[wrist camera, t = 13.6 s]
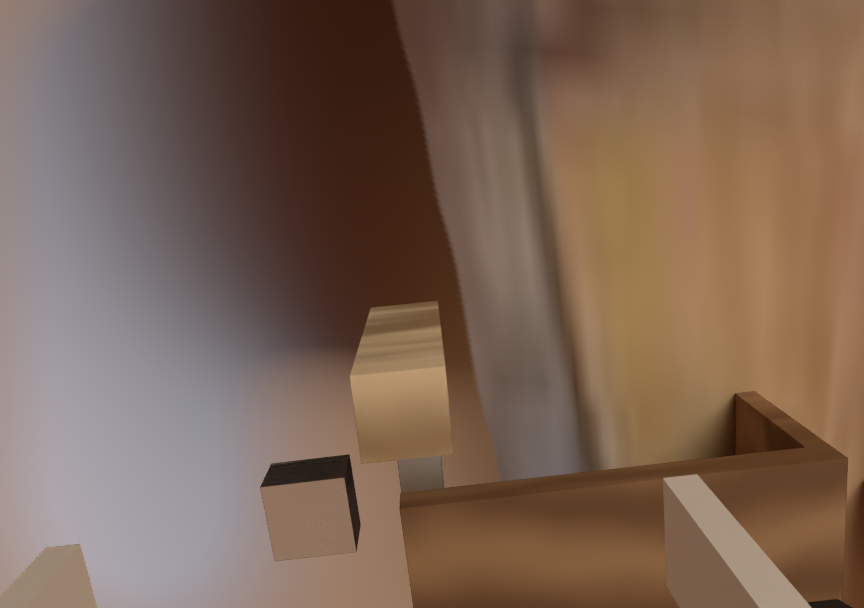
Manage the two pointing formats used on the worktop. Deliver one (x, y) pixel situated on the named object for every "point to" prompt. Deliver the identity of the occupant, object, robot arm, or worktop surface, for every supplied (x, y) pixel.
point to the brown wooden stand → (628, 525)
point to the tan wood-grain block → (403, 393)
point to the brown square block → (311, 507)
